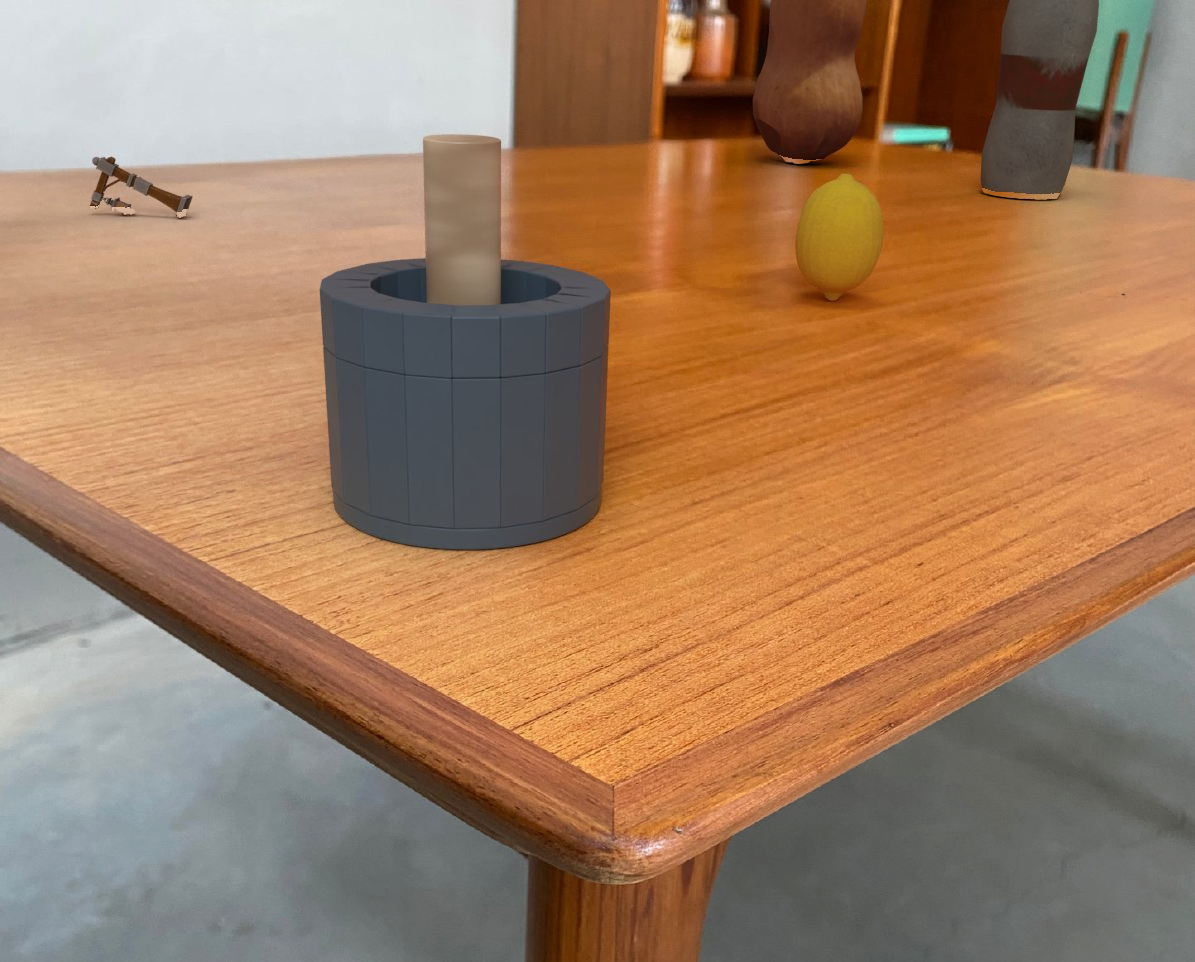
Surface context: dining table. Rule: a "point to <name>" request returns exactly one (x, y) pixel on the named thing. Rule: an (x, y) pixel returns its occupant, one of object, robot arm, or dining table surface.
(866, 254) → the lemon
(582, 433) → the grey paneled mortar
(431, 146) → the tan cylinder
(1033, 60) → the grey vase with band
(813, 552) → the dining table surface
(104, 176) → the wooden post with brackets
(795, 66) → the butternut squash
